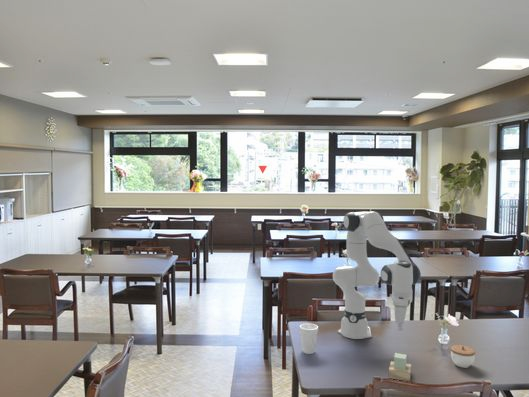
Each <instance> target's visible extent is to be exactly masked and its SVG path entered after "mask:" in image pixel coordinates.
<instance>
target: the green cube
mask: <svg viewBox="0 0 529 397" xmlns="http://www.w3.org/2000/svg"><path fill="white" fill-rule="evenodd" d="M407 358H408V357H407V354H406V353H405V354H404V353H399V352H398V353H397V352H395V353H394V355H393V362H394V368H397V369H403V370H406V364H407Z"/></svg>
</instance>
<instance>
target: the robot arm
mask: <svg viewBox="0 0 529 397" xmlns="http://www.w3.org/2000/svg"><path fill="white" fill-rule="evenodd" d="M343 227H344V228H345V230H346V231H347V233H346V249H345V252H346V253H345V255H346V257H347V258H348V259H349V260H351V261H352V262H355V263H356V264H357V266H345V265H343V266H338V267H336V268H334V269H333V272H332V280H333V282H334V283H335V285H337V286H338V287H339V288H340V289H341V291H342V292H343V295H344V304H345V306H344V311H343V317H342V318H341V320H340V321H341V322H340V329H338V330H337V333H339V334H340V335H341V336H343V337H345V338H349V339H353V340H363V339H368V338H372V331H371V327H370V326H369V325H368V324H369V322H368V319H367V317H366V316H367V311H366V297H365V295H364V294H363V293H361V292H360V291H357V290H356V289H355V287H360V288H369V287H370V288H371V287H376V286H377V285H378V284H379V282H380V279H381V281H382V282H383V283H384V284H385V285H388V286H392V288H391V289H392V291H391V292H392V293H391V301H392V305H393V306H394V320H395V324H397V330H398V331H399V332H402V331H403V327H404V325H403V324H405V319H406V317H407V316H406V315H407V311H408V307H409V306H410V304H411V303H412V302H413V286H415V285H417V283H418V282H419V281H420V279H421V271H420V268H419V267H418V266H417V264H416V263H415V262H414V261H413V259H412V257H411V256H410V254H409V253H408V252H407V249H406V248H405V247H404V245H403V243H402V242H401V241H400V240H399V238H397V237H396V236H395V235H393V233H391V231H390V230H389V229H388V228H387V225H386V223H385V221H384V216H383V214H381V213H380V212H379V211H378V212H377V211H373V210H372V211H364V210H363V211H356V212H354V211H351V212H347V213H346V214H345V215H344V217H343ZM367 241H368V243H369V244H370V245H372V246H373V247H375V248H378V249H380V250H381V249H383V250H386V251H389V252H391V253H393V254H394V255H395V257H396V259H397V260H396V261H394V263H391V264H385V265H383V266H382V267H381V270H380V273H379V271H378V270H377V269H376V268H375V267H373V265H372V264H371V262H370V260H369V258H368V253H367V252H368V251H367V249H368V248H367Z"/></svg>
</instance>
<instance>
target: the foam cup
mask: <svg viewBox="0 0 529 397" xmlns="http://www.w3.org/2000/svg"><path fill="white" fill-rule="evenodd" d="M299 334H300V341H301V342H300V343H301V352H302V353H303V354H306V355H312V354H314V353H316V352H315V351H316V344H317V338H318V334H319V326H318V325H317V324H314V323H309V322H308V323H302V324H300V325H299Z"/></svg>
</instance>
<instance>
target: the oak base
mask: <svg viewBox="0 0 529 397" xmlns="http://www.w3.org/2000/svg"><path fill="white" fill-rule="evenodd" d="M411 376H412V364H411V363H406V370H403V369H397V368H394V360H393V361H392V360H391V361H390V364H389V366H388V379H394V380H399V381H405V382H411Z"/></svg>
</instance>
